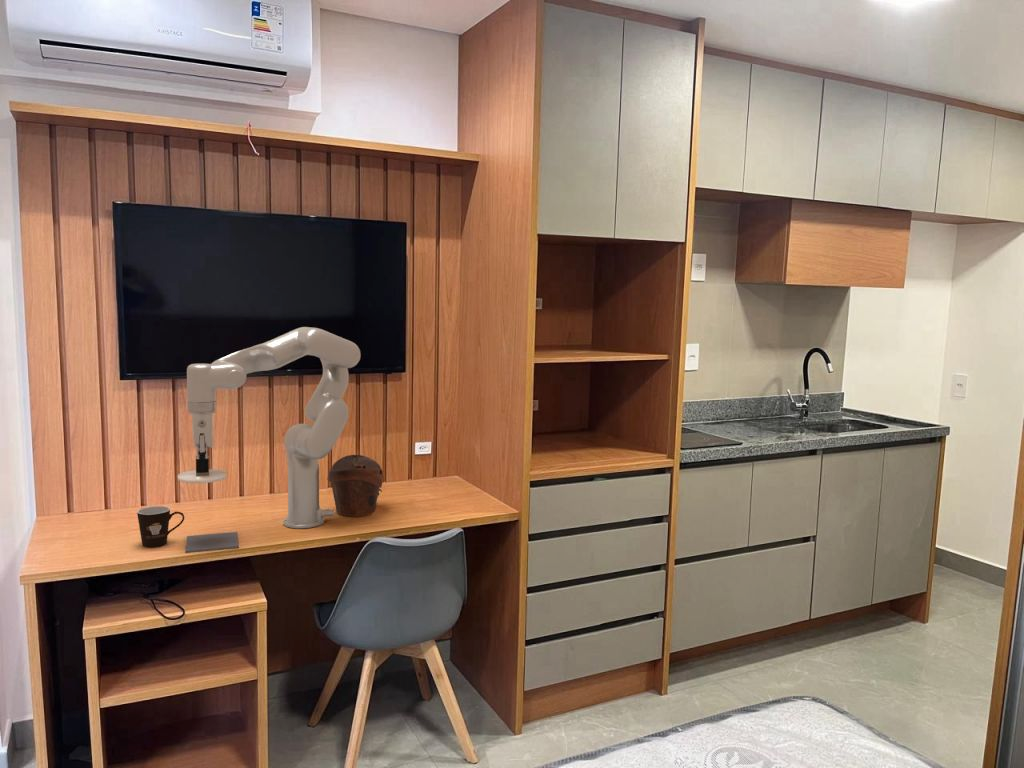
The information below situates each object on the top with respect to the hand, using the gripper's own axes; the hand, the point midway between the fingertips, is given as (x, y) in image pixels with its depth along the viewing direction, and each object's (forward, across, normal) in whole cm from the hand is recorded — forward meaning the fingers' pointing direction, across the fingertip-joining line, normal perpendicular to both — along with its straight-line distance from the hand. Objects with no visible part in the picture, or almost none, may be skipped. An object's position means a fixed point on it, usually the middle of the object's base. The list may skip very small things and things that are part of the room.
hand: (202, 470), depth 221 cm
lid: (+2, 0, 0) cm, 2 cm away
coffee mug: (+22, +3, +12) cm, 25 cm away
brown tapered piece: (+21, +19, -48) cm, 56 cm away
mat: (+21, 0, -2) cm, 22 cm away
